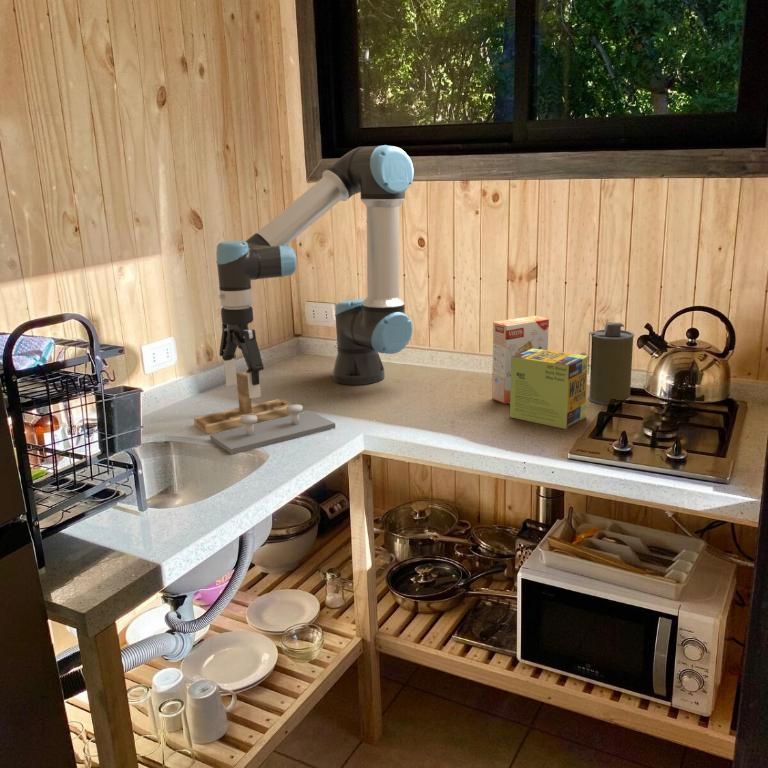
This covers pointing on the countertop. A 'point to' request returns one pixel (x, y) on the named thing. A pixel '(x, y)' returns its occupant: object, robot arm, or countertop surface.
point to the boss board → (271, 430)
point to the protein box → (548, 387)
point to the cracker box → (514, 349)
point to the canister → (610, 364)
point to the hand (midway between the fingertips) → (243, 391)
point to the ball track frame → (242, 410)
